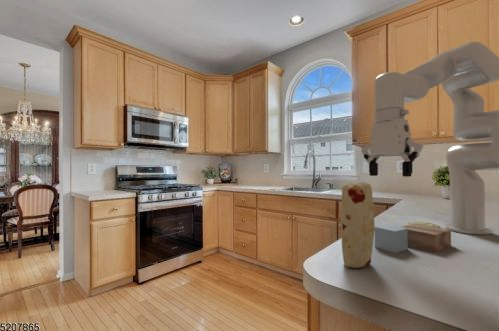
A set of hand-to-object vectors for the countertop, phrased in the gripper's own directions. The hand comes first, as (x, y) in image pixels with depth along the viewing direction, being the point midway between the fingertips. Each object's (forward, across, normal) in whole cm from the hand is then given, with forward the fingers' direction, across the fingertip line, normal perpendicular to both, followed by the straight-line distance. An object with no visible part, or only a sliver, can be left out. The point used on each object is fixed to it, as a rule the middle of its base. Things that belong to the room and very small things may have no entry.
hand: (389, 176), depth 71 cm
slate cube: (+21, 0, 0) cm, 21 cm away
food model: (+21, -3, +18) cm, 28 cm away
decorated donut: (+21, +3, -26) cm, 33 cm away
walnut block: (+21, -3, -12) cm, 25 cm away
